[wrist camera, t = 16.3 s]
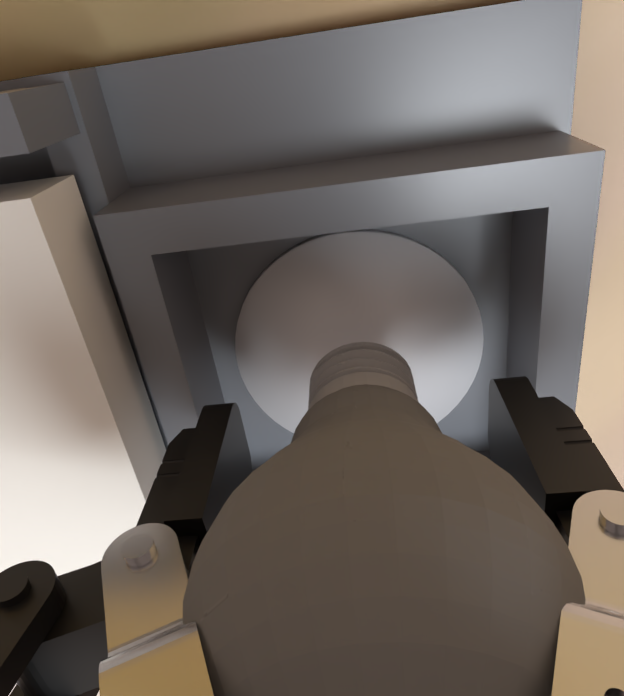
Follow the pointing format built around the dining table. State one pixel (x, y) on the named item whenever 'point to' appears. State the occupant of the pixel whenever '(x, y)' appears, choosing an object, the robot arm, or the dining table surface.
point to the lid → (65, 388)
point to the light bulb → (379, 557)
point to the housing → (334, 209)
